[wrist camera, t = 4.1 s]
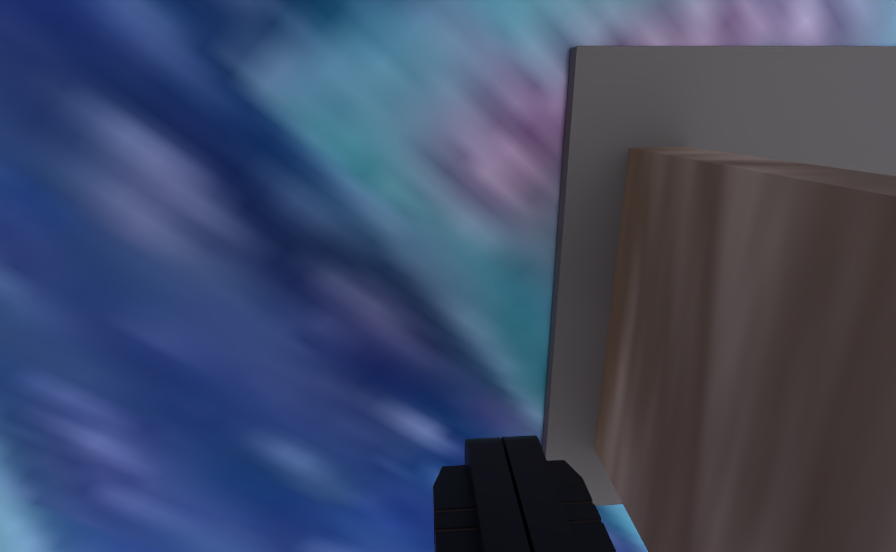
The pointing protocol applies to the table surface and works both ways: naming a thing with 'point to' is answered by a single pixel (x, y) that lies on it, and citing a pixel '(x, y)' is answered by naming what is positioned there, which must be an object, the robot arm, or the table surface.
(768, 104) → the mat
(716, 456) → the tile
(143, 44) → the table surface
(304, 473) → the table surface
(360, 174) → the table surface
